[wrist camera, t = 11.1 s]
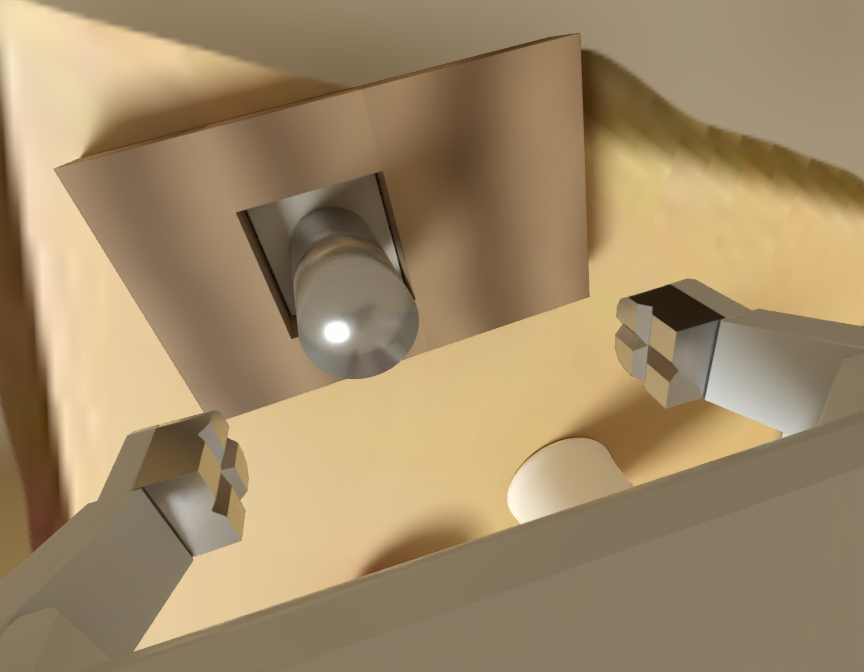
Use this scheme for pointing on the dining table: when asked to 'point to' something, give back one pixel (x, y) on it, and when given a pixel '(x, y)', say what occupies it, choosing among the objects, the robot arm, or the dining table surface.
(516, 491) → the mug
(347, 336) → the peg
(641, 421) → the dining table surface
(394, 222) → the plate
